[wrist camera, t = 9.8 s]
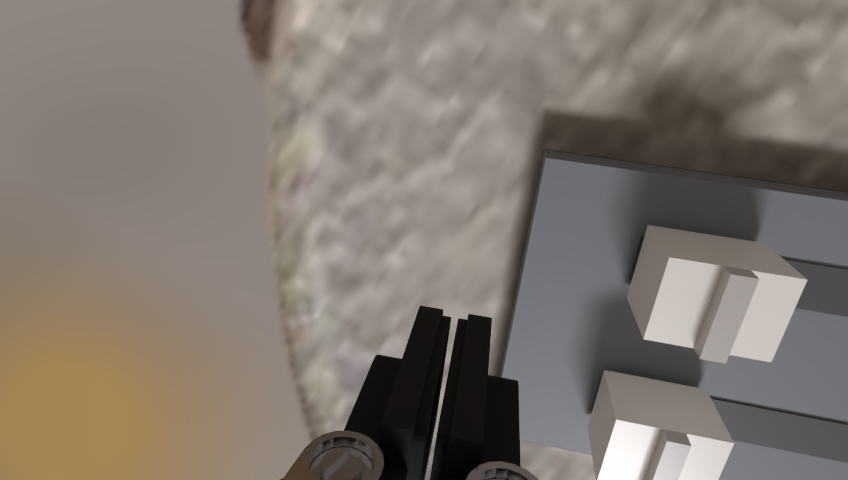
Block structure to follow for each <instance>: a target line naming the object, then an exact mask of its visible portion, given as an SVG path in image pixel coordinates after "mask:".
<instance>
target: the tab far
mask: <svg viewBox="0 0 848 480" xmlns="http://www.w3.org/2000/svg"><path fill="white" fill-rule="evenodd" d="M588 433H589V439H590V445H591V451H592V457H593V463H594V469H595V475H596V480H719V477H720V475H721V473H722V470H723V468H724V466H725V464H726V461H727V459H728V457H729V454H730V452H731V450H732V447H733V445H734V442H733V440H732V438H731V436H730V434H729V432H728V430H727V428H726V426H725V425H724V423H723V421H722V419H721V417H720V415H719V413H718V411H717V409H716V407H715V405H714V403H713V401H712V399H711V398H710V396H709V394H708V392H707V390H706V389H702V388H697V387H691V386H686V385H681V384H676V383H670V382H665V381H660V380H655V379H649V378H644V377H639V376H634V375H628V374H623V373H618V372H612V371H607V370H604V372H603V375H602V379H601V382H600V386H599V389H598V393H597V396H596V400H595V403H594V406H593V410H592V413H591V417H590V420H589V424H588Z"/></svg>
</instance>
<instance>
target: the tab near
mask: <svg viewBox="0 0 848 480" xmlns="http://www.w3.org/2000/svg"><path fill="white" fill-rule="evenodd" d="M806 282H807V279H806V278H805V277H804V276H803V275H802V274H800V273H799V272H798V271H797V270H796V269H795V268H793V267H792V266H791V265H790V264H789V263H788V262H786V261H785V260H784V259H783V258H782V257H781V256H779V255H778V254H777V253H776V252H775V251H774V250H772V249H771V248H770V247H769V246H768V245H766V244H765V243H761V242H755V241H749V240H742V239H736V238H729V237H723V236H716V235H710V234H704V233H697V232H691V231H684V230H678V229H671V228H665V227H659V226H652V225H648V226H647V229H646V233H645V236H644V240H643V243H642V247H641V250H640V253H639V257H638V260H637V264H636V267H635V271H634V274H633V277H632V281H631V284H630V288H629V291H628V294H627V300H628V302H629V305H630V307H631V310H632V312H633V315H634V317H635V320H636V322H637V325H638V327H639V330H640V332H641V335H642V337H643V339H645V340H650V341H656V342H661V343H667V344H672V345H678V346H683V347H689V348H694V350H695V352H696V354H697V355H698V357H699V359H703V360H708V361H714V362H719V363H725V364H726V362H727V360H728V357H729V355H733V356H738V357H744V358H749V359H755V360H760V361H766V362H772V360H773V358H774V355H775V353H776V351H777V348H778V346H779V344H780V342H781V339H782V337H783V335H784V332H785V330H786V328H787V326H788V323H789V321H790V319H791V316H792V314H793V312H794V310H795V307H796V305H797V303H798V300H799V298H800V296H801V294H802V291H803V289H804V287H805V284H806Z"/></svg>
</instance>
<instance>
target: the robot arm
mask: <svg viewBox="0 0 848 480" xmlns="http://www.w3.org/2000/svg"><path fill="white" fill-rule="evenodd" d="M450 322H451V317H447V316H443V309H437V308H431V307H425V306H420V307H419V310H418V313H417V316H416V319H415V322H414V325H413V328H412V331H411V334H410V337H409V340H408V343H407V346H406V349H405V352H404V355H403V358H402V359H399V358H393V357H388V356H383V355H376V356H375V358H374V360H373V363H372V365H371V367H370V370H369V372H368V375H367V377H366V379H365V382H364V384H363V386H362V389H361V391H360V394H359V396H358V398H357V401H356V403H355V405H354V408H353V410H352V413H351V415H350V417H349V420H348V422H347V425H346V427H345V429H344V431H334V432H330V433H326V434H323V435H321V436H319V437H318V438H316V439H314V440H313V441H312V442H311V443H310V444H309V445H308V446H307V447H306V448H305V449H304V450H303V452H302V453H301V454H300V456H299V457H298V459H297V460H296V461H295V463H294V464H293V465H292V467H291V468H290V470H289V471H288V472H287V474H286V476H285V477H284V478H283V479H281V480H424V479H425V474H426V469H427V464H428V459H429V454H430V449H431V444H432V438H433V433H434V428H435V423H436V417H437V411H438V404H439V397H440V391H441V384H442V377H443V370H444V363H445V357H446V350H447V343H448V336H449V329H450ZM491 323H492V318H489V317H483V316H477V315H472V314H469V315H468V320H464V319H458V324H457V329H456V334H455V340H454V345H453V351H452V356H451V361H450V367H449V372H448V378H447V383H446V388H445V394H444V399H443V405H442V410H441V415H440V421H439V426H438V432H437V438H436V444H435V451H434V457H433V464H432V471H431V477H430V480H538V479H537V478H536V477H535V476H534V475H532V474H531V473H530V472H529V471H527V470H526V469H524V468H521V467H520V430H519V385H518V380H513V379H507V378H502V377H496V376H491V375H488V366H489V351H490V337H491Z"/></svg>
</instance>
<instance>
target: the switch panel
mask: <svg viewBox="0 0 848 480" xmlns="http://www.w3.org/2000/svg"><path fill="white" fill-rule="evenodd" d="M648 225H652V226H659V227H665V228H671V229H678V230H684V231H691V232H697V233H704V234H710V235H716V236H723V237H729V238H736V239H742V240H749V241H755V242H761V243H765V244H766V245H768V246H769V247H770V248H771V249H772V250H774V251H775V252H776V253H777V254H778V255H779V256H781V257H782V258H783V259H784V260H785V261H786V262H788V263H789V264H790V265H791V266H792V267H793V268H795V269H796V270H797V271H798V272H799V273H800V274H802V275H803V276H804V277H805V278H806V279H807V282H806V284H805V287H804V289H803V291H802V294H801V296H800V298H799V300H798V303H797V305H796V307H795V310H794V312H793V314H792V316H791V319H790V321H789V323H788V326H787V328H786V330H785V332H784V335H783V337H782V339H781V342H780V344H779V346H778V348H777V351H776V353H775V355H774V358H773V360H772V362H766V361H760V360H755V359H749V358H744V357H738V356H733V355H729V357H728V360H727V362H726V364H725V363H719V362H714V361H708V360H703V359H699V357H698V355H697V354H696V352H695V350H694V348H689V347H683V346H678V345H672V344H667V343H661V342H656V341H650V340H645V339H643V337H642V335H641V332H640V330H639V327H638V325H637V322H636V320H635V317H634V315H633V312H632V310H631V307H630V305H629V302H628V300H627V294H628V291H629V288H630V284H631V281H632V277H633V274H634V271H635V267H636V264H637V260H638V257H639V253H640V250H641V247H642V243H643V240H644V236H645V233H646V229H647V226H648ZM604 370H607V371H612V372H618V373H623V374H628V375H634V376H639V377H644V378H649V379H655V380H660V381H665V382H670V383H676V384H681V385H686V386H691V387H697V388H702V389H706V390H707V392H708V394H709V396H710V398H711V399H712V401H713V403H714V405H715V407H716V409H717V411H718V413H719V415H720V417H721V419H722V421H723V423H724V425H725V426H726V428H727V430H728V432H729V434H730V436H731V438H732V440H733V442H734V445H733V447H732V450H731V452H730V454H729V457H728V459H727V461H726V464H725V466H724V468H723V470H722V473H721V475H720V477H719V480H848V193H847V192H840V191H833V190H826V189H819V188H812V187H805V186H798V185H791V184H784V183H777V182H770V181H762V180H755V179H748V178H741V177H734V176H727V175H720V174H713V173H706V172H699V171H692V170H685V169H678V168H671V167H664V166H657V165H650V164H643V163H635V162H628V161H621V160H614V159H607V158H600V157H593V156H586V155H579V154H572V153H565V152H558V151H551V150H544V153H543V158H542V163H541V169H540V174H539V179H538V184H537V189H536V194H535V199H534V204H533V209H532V214H531V219H530V224H529V229H528V234H527V239H526V244H525V249H524V254H523V259H522V265H521V270H520V275H519V280H518V285H517V290H516V295H515V300H514V305H513V310H512V315H511V320H510V325H509V330H508V335H507V340H506V345H505V350H504V355H503V361H502V366H501V371H500V376H499V377H502V378H507V379H513V380H518V385H519V430H520V440H523V441H527V442H532V443H537V444H542V445H546V446H551V447H556V448H561V449H565V450H570V451H575V452H580V453H584V454H589V455H592V451H591V445H590V439H589V433H588V424H589V420H590V417H591V413H592V410H593V406H594V403H595V400H596V396H597V393H598V389H599V386H600V382H601V379H602V375H603V372H604Z"/></svg>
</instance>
